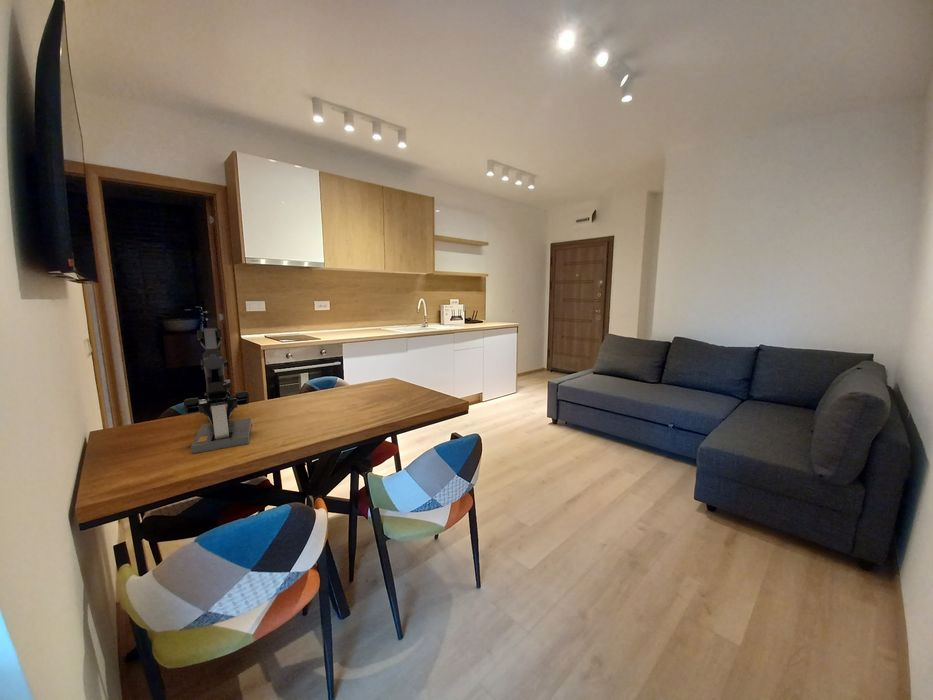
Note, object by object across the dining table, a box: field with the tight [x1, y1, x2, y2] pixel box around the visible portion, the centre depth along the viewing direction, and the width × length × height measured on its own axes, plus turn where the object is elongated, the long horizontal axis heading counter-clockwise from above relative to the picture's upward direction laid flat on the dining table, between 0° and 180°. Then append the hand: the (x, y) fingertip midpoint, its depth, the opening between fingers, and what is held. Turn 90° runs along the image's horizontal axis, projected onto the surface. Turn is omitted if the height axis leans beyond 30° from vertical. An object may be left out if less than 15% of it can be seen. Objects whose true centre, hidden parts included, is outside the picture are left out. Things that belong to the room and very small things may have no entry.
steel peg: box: [211, 402, 229, 440], centre depth 125 cm, size 4×4×13 cm
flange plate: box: [190, 417, 252, 454], centre depth 131 cm, size 22×16×3 cm
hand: (220, 422), depth 123 cm, fingers closed on steel peg, 4 cm apart
